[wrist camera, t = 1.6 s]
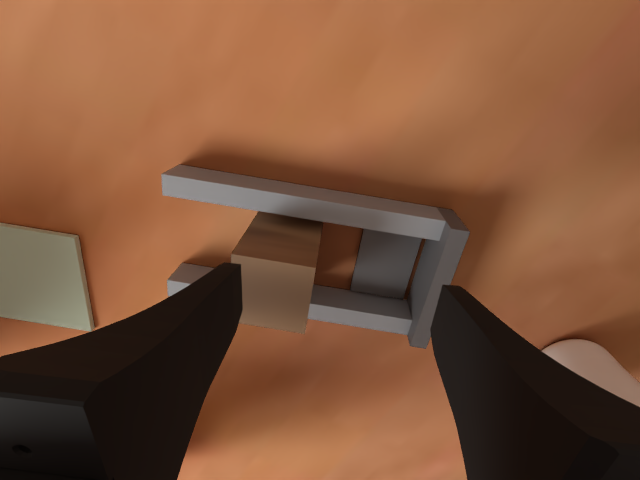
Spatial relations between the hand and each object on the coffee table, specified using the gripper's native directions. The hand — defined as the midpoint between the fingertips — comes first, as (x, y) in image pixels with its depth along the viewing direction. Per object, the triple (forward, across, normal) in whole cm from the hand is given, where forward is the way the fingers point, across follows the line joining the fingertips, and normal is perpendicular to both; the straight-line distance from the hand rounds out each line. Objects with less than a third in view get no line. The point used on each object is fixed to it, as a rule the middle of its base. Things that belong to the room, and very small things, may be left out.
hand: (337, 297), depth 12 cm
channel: (+9, +2, +3) cm, 10 cm away
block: (+10, +3, +3) cm, 10 cm away
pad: (+9, +22, +8) cm, 25 cm away
